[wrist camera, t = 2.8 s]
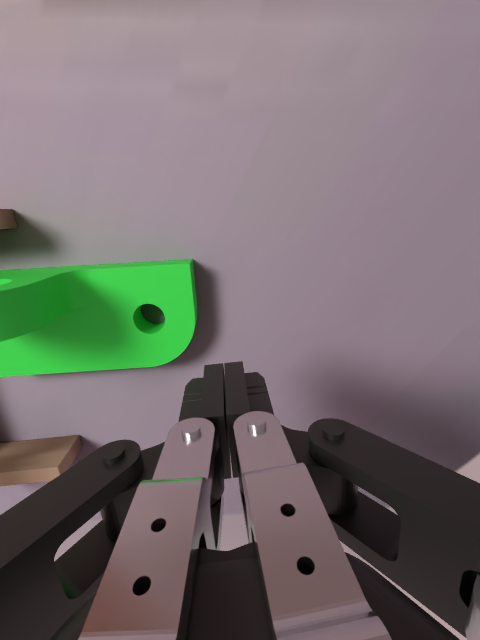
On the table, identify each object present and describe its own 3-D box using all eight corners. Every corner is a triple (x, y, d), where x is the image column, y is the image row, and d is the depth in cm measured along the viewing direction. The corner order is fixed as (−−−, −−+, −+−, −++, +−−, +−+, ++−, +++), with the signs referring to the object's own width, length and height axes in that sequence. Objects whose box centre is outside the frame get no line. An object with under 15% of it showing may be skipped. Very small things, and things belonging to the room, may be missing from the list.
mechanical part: (17, 362, 21) (-102, 446, 13) (-10, 270, 19) (-166, 307, 12) (202, 350, 21) (188, 426, 14) (193, 258, 19) (171, 287, 12)
